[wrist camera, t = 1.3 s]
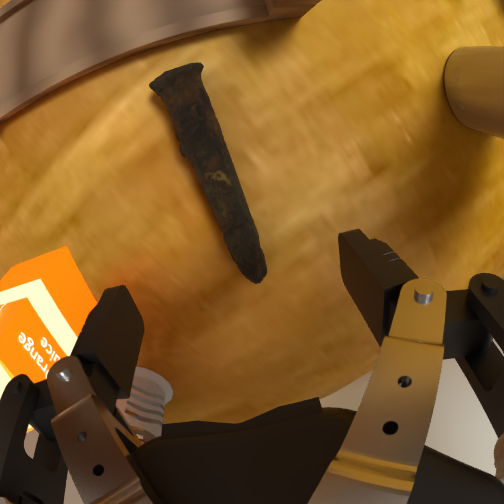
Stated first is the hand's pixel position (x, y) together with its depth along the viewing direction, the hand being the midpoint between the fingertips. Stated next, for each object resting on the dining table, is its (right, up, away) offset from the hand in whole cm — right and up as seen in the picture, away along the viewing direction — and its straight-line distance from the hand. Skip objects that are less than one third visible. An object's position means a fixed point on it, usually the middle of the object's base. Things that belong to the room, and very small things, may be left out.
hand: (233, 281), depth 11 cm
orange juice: (-21, -2, +17) cm, 27 cm away
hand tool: (-2, +8, +14) cm, 16 cm away
